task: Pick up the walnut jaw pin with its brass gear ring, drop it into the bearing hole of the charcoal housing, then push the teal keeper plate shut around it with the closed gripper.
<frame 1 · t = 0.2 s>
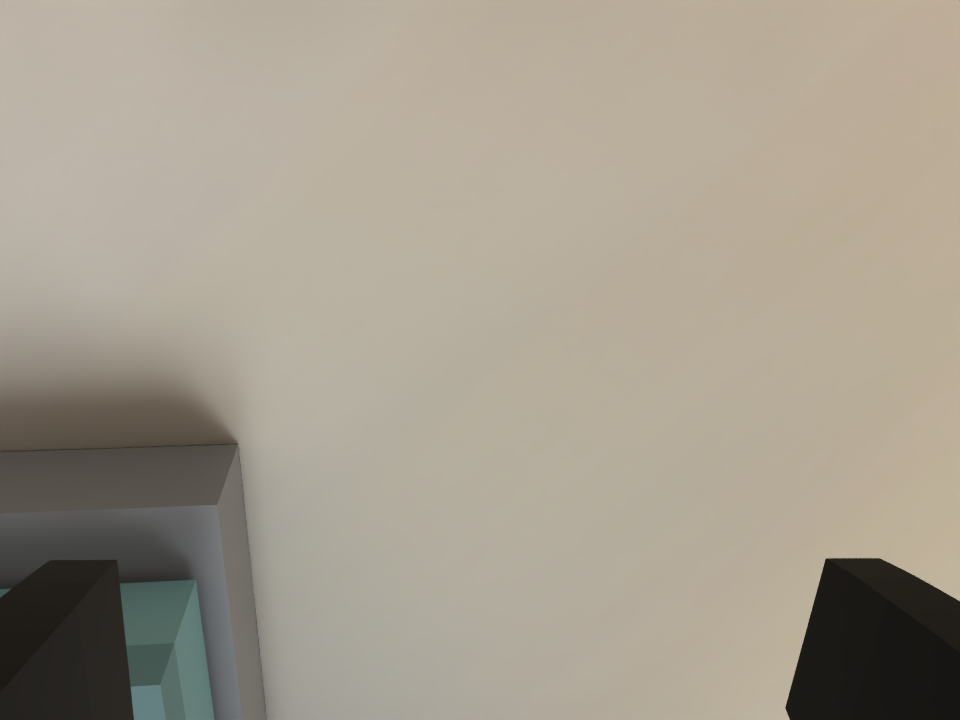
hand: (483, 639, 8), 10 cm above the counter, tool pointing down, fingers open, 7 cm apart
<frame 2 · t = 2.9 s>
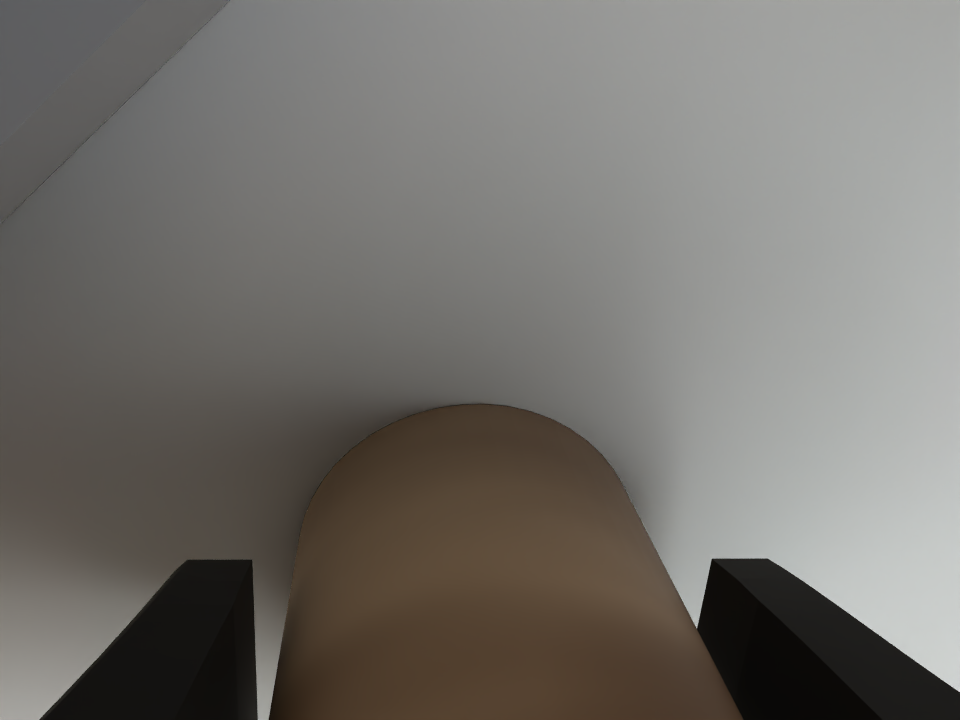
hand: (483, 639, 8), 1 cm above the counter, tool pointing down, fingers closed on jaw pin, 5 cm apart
jaw pin: (469, 556, 10), on the counter, touching gripper
when the fingers open (3 cm above the counter, at t = 6.9 s): jaw pin drops 1 cm, resting in housing.
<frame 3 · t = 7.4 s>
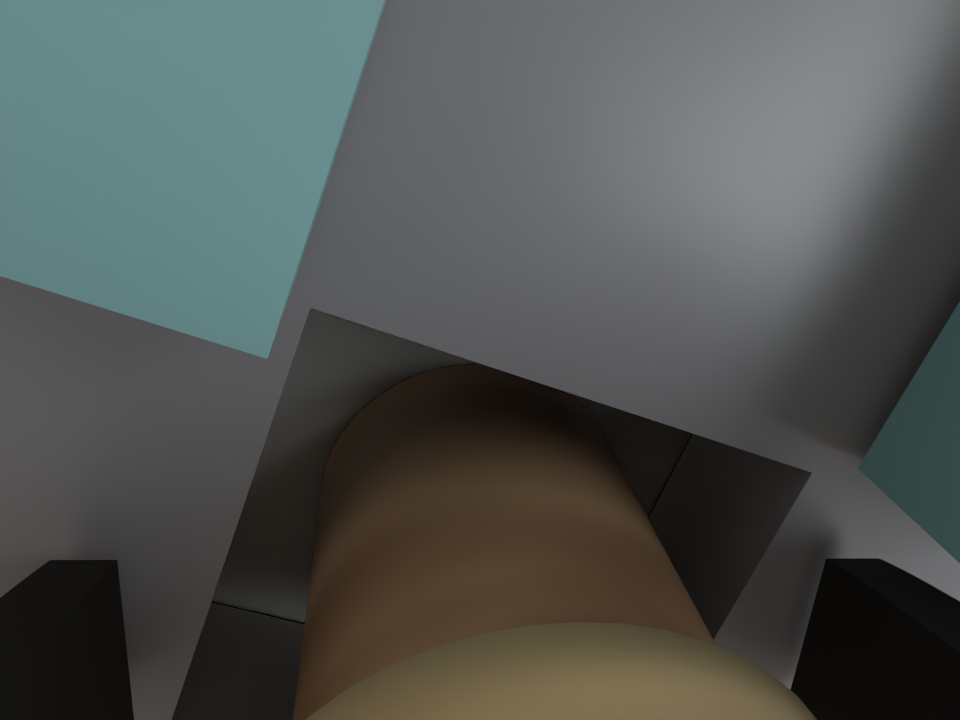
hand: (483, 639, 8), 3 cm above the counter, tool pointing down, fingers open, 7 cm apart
housing: (530, 328, 10), on the counter
jaw pin: (470, 500, 11), resting in housing
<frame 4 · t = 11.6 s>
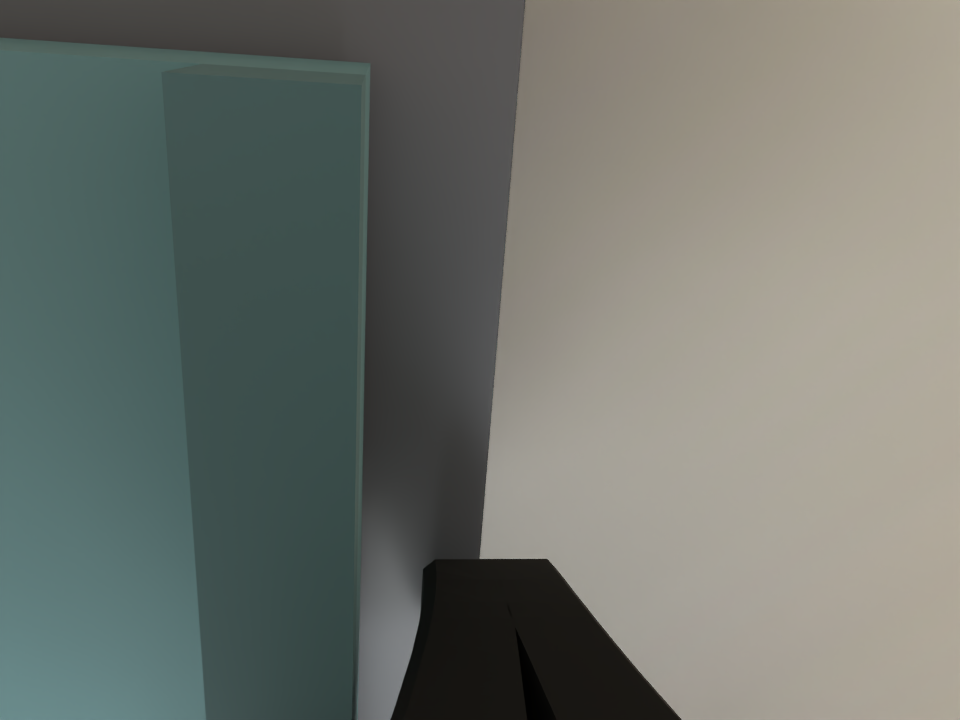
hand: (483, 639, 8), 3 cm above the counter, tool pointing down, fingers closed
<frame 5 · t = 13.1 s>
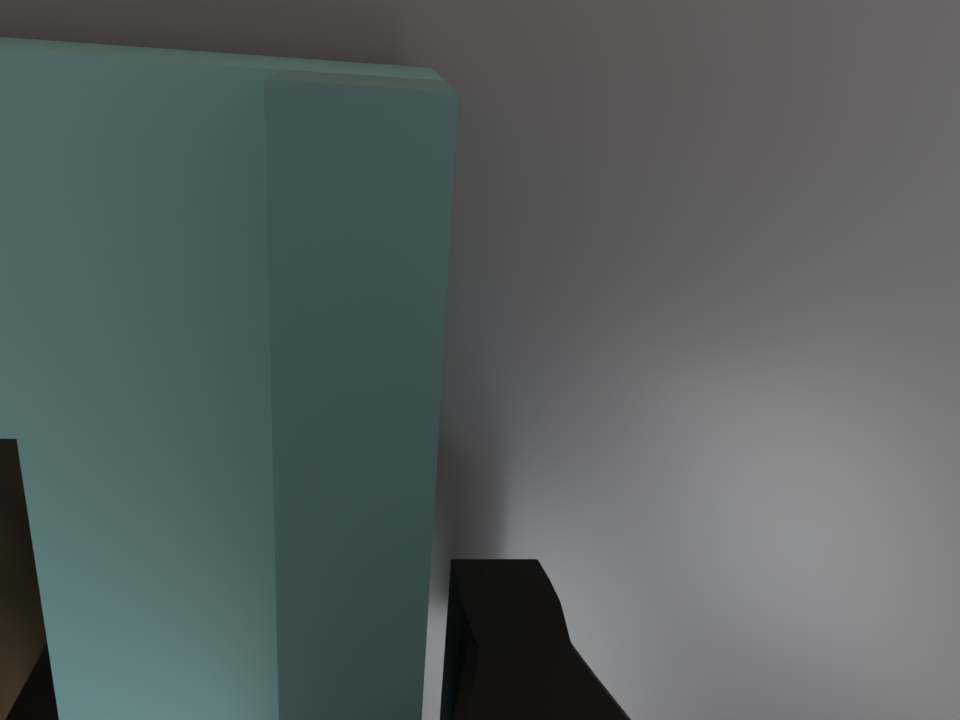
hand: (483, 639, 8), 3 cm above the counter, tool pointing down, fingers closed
housing: (157, 473, 11), on the counter
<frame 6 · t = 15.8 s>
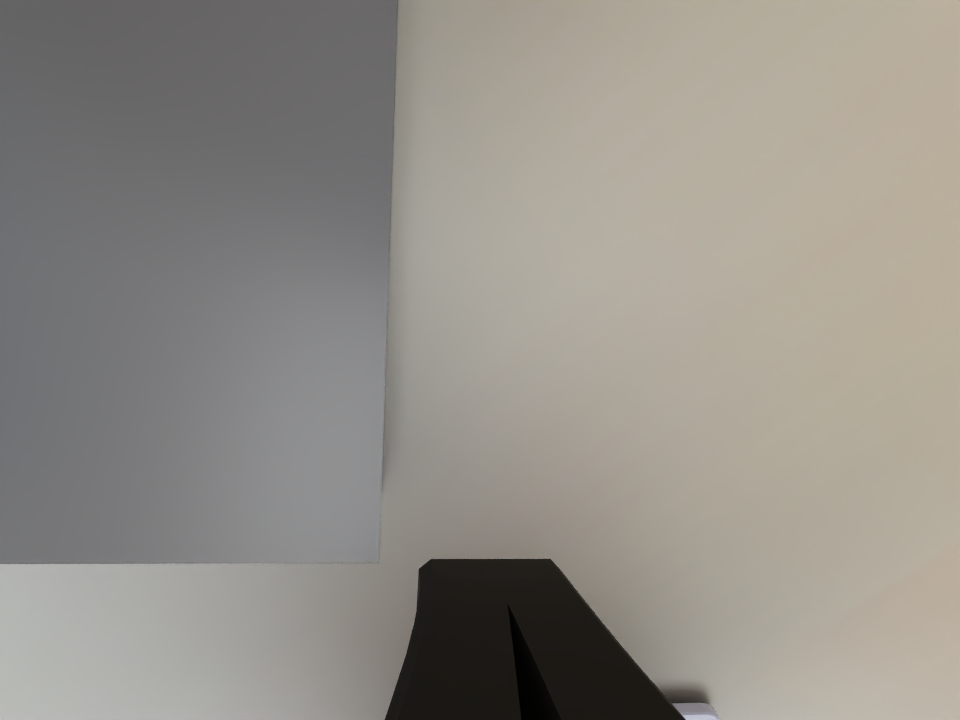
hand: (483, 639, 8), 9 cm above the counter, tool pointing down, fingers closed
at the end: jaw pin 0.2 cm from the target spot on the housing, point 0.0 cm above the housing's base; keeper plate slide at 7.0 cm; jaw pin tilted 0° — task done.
